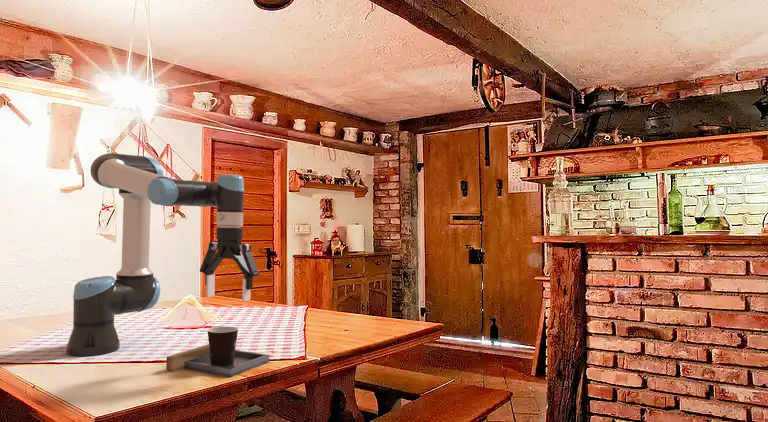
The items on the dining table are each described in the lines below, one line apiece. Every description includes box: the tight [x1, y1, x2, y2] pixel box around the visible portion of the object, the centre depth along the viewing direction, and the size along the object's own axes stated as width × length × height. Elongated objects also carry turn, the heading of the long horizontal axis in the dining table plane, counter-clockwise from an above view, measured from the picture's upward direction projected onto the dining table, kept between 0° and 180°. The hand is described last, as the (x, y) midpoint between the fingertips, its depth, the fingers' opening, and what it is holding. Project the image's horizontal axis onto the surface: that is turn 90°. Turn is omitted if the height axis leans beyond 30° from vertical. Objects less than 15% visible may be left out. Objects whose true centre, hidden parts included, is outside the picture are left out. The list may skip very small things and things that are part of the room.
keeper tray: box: [183, 349, 270, 378], centre depth 155 cm, size 17×17×2 cm
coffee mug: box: [207, 326, 239, 367], centre depth 156 cm, size 12×9×10 cm
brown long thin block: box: [165, 343, 210, 373], centre depth 158 cm, size 2×20×4 cm, turn 155°
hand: (228, 298), depth 155 cm, fingers open, 13 cm apart
